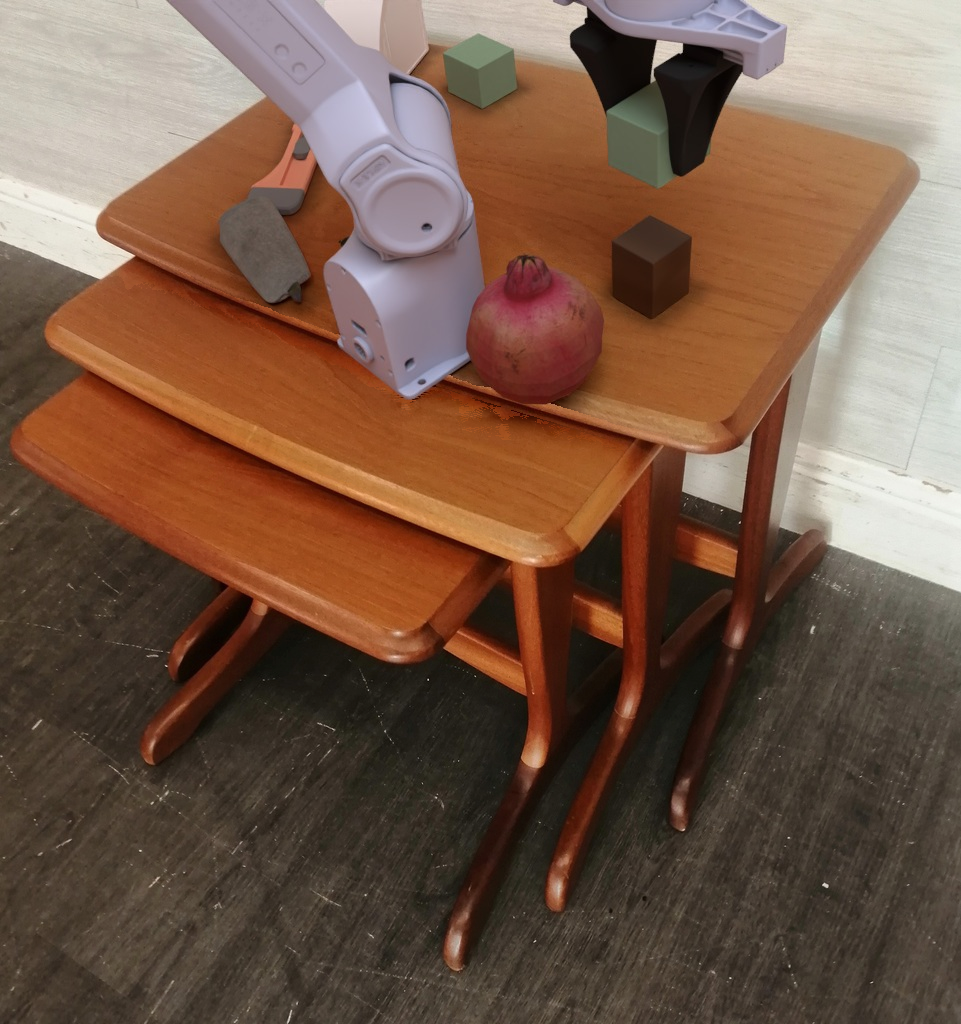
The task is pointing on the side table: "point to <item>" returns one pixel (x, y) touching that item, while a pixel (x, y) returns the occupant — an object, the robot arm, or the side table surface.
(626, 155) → the sage green cube
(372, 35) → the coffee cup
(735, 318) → the side table surface
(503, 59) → the green block
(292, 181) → the utility knife
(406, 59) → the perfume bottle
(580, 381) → the fruit
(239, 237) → the stone
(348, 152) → the robot arm
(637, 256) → the dark brown block
